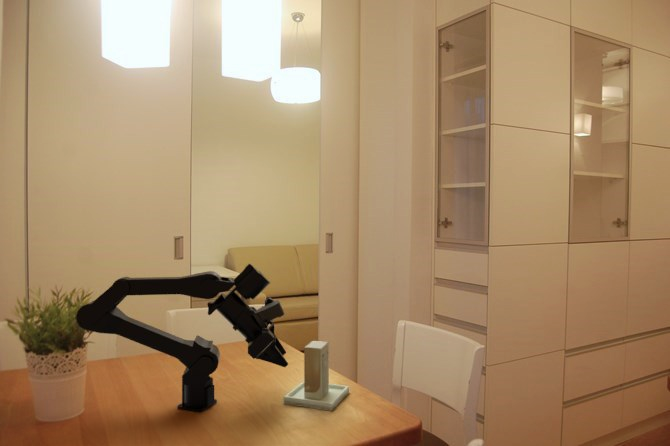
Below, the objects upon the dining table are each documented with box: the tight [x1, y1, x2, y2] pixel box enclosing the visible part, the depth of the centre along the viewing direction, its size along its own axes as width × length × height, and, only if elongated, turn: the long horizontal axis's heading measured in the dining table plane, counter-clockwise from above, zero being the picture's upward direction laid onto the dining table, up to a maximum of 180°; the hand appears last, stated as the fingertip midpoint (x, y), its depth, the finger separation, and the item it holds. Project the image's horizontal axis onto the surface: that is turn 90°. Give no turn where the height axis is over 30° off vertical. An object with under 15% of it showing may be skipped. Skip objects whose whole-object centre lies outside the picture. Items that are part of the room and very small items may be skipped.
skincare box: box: [303, 340, 330, 400], centre depth 111 cm, size 6×4×12 cm
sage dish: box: [283, 381, 350, 412], centre depth 111 cm, size 12×12×2 cm
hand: (285, 359), depth 110 cm, fingers open, 9 cm apart
